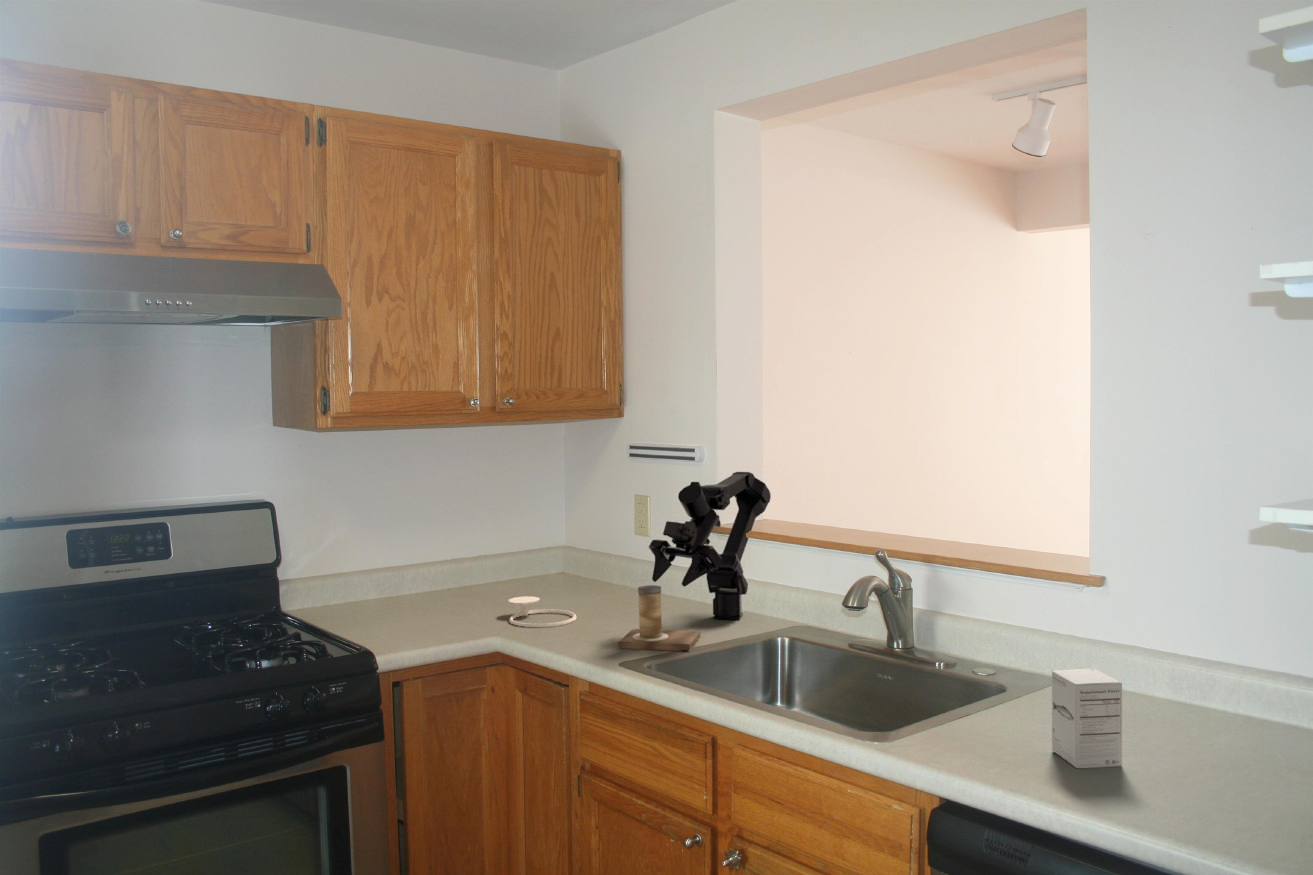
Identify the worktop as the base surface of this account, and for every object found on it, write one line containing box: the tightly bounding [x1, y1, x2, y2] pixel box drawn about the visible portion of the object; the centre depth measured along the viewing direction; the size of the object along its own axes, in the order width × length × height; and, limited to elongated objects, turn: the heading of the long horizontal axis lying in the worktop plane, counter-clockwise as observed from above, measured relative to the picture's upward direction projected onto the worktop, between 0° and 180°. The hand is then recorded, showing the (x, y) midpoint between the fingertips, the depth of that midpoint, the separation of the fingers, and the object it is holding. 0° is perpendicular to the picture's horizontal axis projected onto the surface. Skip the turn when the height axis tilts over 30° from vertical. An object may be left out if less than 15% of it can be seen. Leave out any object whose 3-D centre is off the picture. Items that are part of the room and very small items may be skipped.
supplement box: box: [1051, 668, 1123, 769], centre depth 146 cm, size 7×7×13 cm
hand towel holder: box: [508, 595, 577, 628], centre depth 248 cm, size 17×4×21 cm
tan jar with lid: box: [637, 584, 663, 639], centre depth 220 cm, size 5×5×11 cm
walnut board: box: [618, 628, 701, 651], centre depth 221 cm, size 16×12×2 cm
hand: (668, 583), depth 224 cm, fingers open, 9 cm apart
